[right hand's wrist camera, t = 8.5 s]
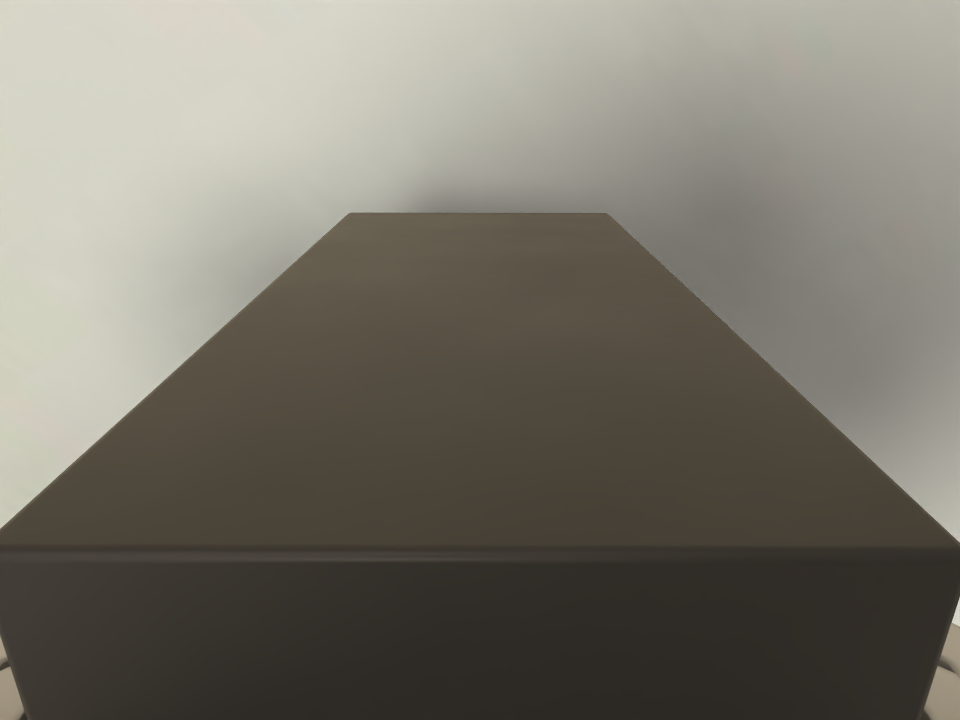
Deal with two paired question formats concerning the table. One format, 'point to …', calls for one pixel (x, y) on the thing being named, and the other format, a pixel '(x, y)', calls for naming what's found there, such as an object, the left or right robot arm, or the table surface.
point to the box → (475, 509)
